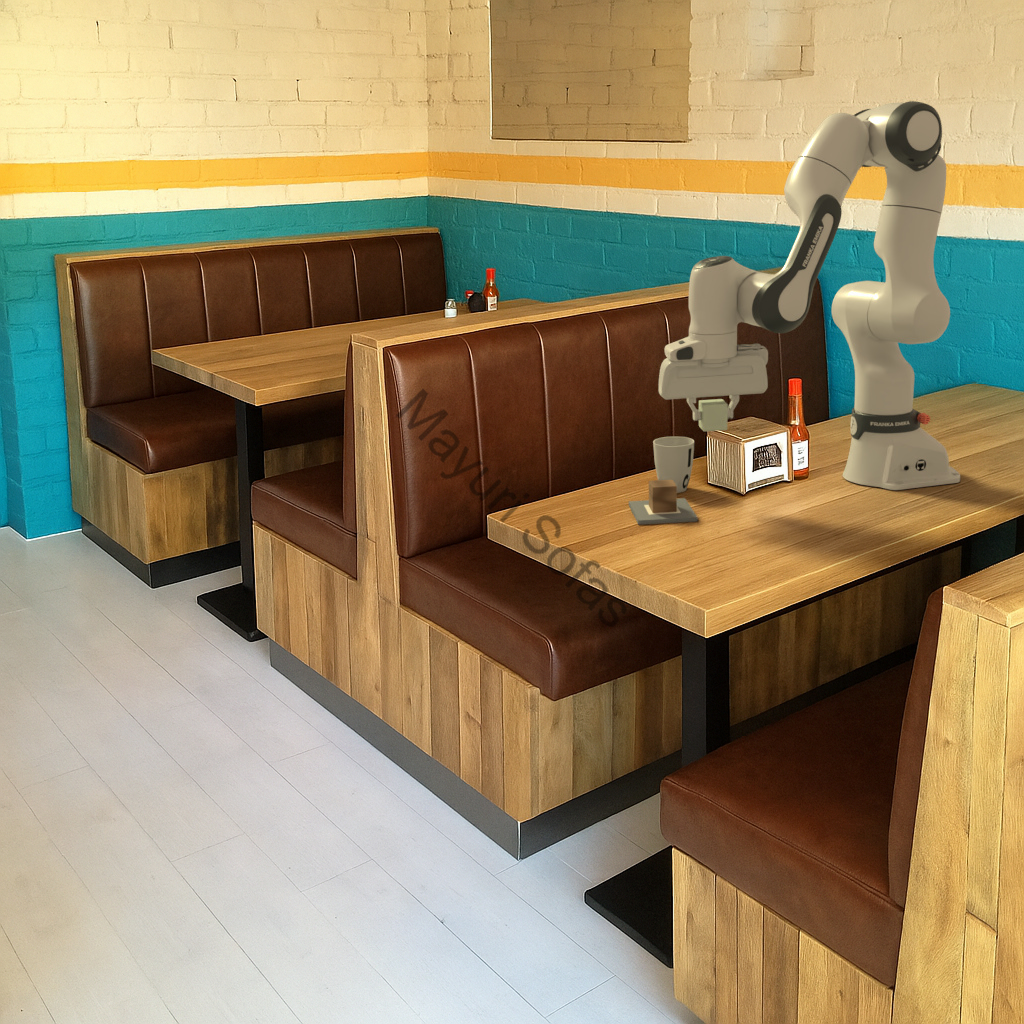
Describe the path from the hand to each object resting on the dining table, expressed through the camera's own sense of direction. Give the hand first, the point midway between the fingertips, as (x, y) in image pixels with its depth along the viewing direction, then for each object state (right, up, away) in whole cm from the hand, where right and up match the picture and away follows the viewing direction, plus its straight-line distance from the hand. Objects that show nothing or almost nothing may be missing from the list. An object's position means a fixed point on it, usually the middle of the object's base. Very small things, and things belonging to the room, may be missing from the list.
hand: (712, 418), depth 215 cm
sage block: (0, -2, +1) cm, 2 cm away
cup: (-5, -13, +14) cm, 20 cm away
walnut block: (-10, -17, -1) cm, 20 cm away
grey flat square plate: (-10, -18, -1) cm, 20 cm away
